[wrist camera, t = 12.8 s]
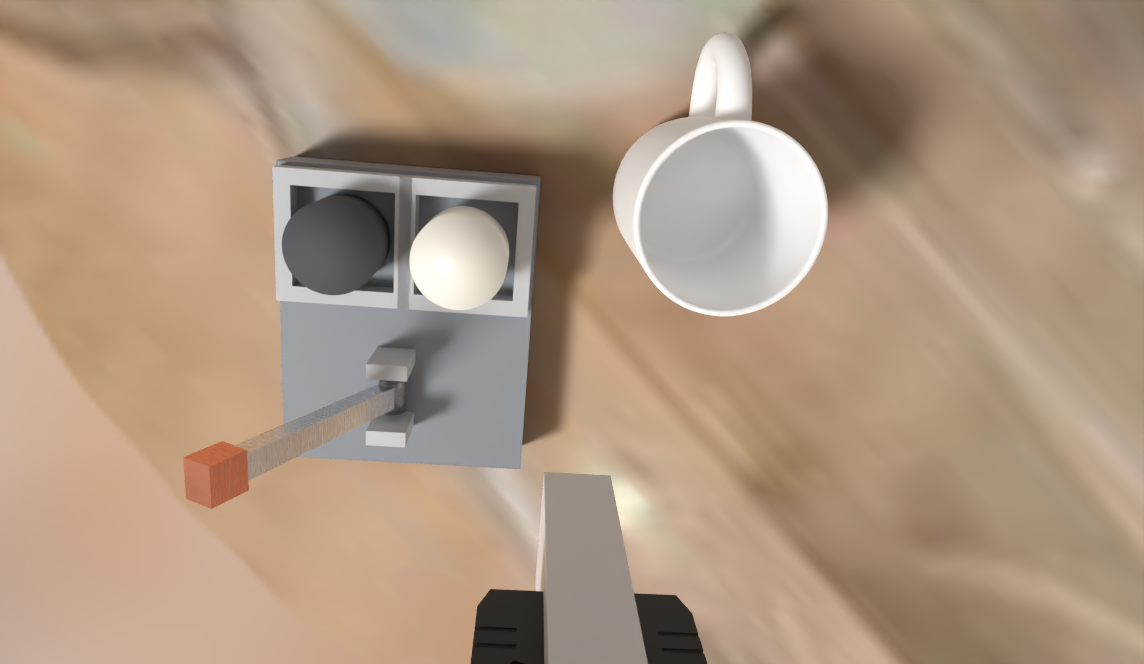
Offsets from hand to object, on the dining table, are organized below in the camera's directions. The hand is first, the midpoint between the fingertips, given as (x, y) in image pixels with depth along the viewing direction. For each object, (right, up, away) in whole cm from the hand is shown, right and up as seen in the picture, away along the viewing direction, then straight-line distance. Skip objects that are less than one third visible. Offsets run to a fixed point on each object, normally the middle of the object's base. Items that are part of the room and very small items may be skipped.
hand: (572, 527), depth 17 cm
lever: (-9, +1, +23) cm, 25 cm away
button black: (-11, +9, +21) cm, 25 cm away
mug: (+6, +14, +24) cm, 28 cm away
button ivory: (-5, +8, +20) cm, 22 cm away
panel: (-9, +6, +25) cm, 28 cm away
